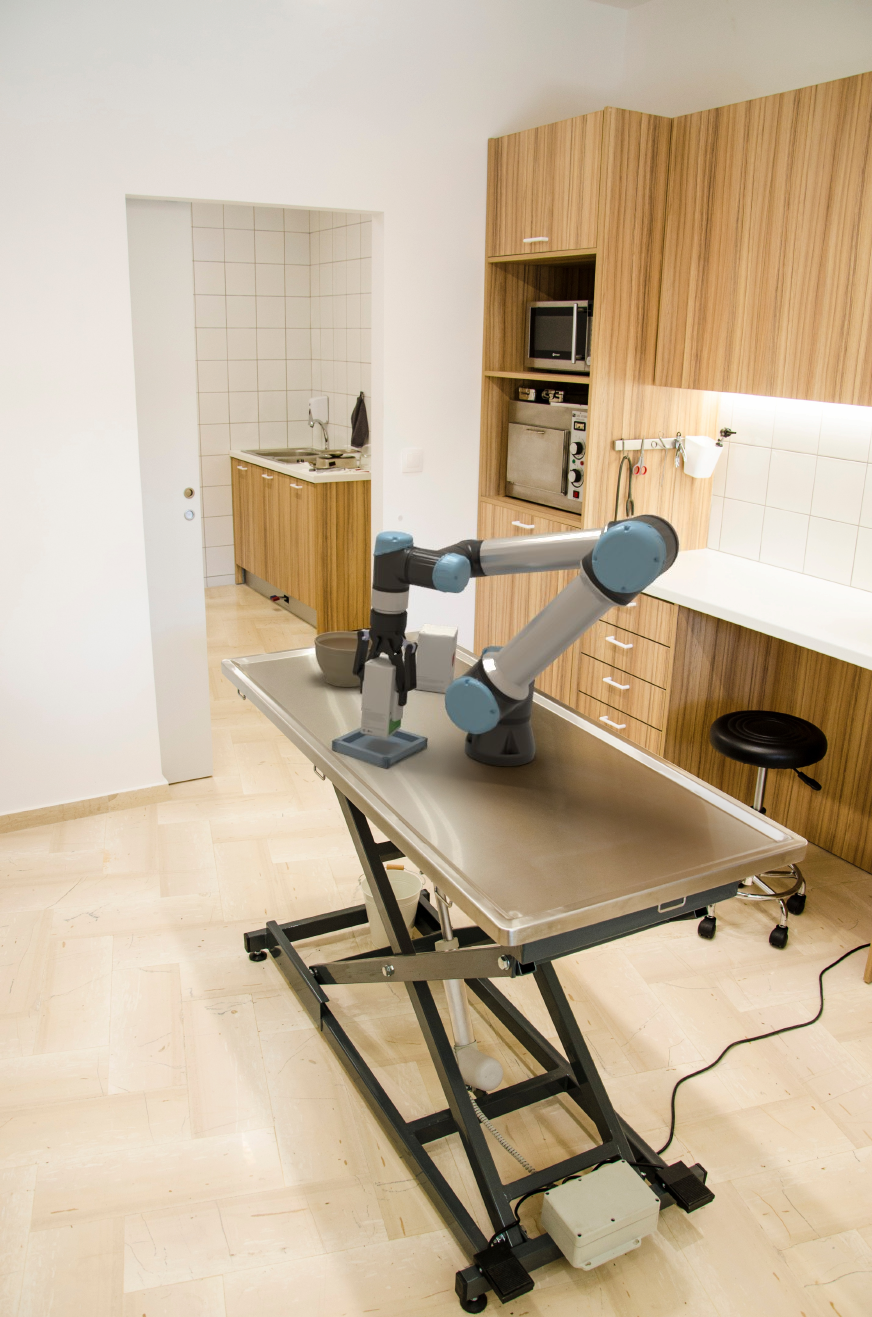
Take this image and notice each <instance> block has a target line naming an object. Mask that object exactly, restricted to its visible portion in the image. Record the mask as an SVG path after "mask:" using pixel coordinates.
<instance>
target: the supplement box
mask: <svg viewBox="0 0 872 1317" xmlns="http://www.w3.org/2000/svg"><path fill="white" fill-rule="evenodd" d="M458 634H459V627H456V626H449V625H440V624H432V623H424V624H423V625H422V627H421V629H420V630H419V632H418V636H417V637H418V638H417V644H418V647H417V651H416V678H417V687H416V688H415V689H414V690H418V691H425V692H426V691H427V692H432V693H433V692H434V693H439V694H440V693H441V694H446V691H447V689H448V687H449V686H450V685H451V683H452V682H453V681H454V678H455V665H456V655H457V643H458Z"/></svg>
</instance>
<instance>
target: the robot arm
mask: <svg viewBox="0 0 872 1317" xmlns="http://www.w3.org/2000/svg"><path fill="white" fill-rule="evenodd" d="M414 544H415V543H414V537H413V535H411V534H410V533H406V532H403V531H393V530H392V531H391V530H390V531H382V532H379V533H378V534H377V535H376V538H375V543H374V552H373V555H372V556H373V570H372V572H373V573H372V584H371V585H372V586H371V593H370V594H371V596H370V606H371V609H370V613H369V614H370V615H369V626H370V629H368V628H364V629H360V630H357V631H356V632H357V638H358V644H357V649H356V655H355V661H354V666H353V675H357V676H358V677H359V678H360V685H359V694H361V707H360V711H361V712H362V703H363V689H364V673H365V663H366V662H367V661H369V660H371V659H375V658H377V657H379V656H380V654H382V653H383V654H384V655H388V657H389V660H391V663H392V665H394V666H396V676H395V680H396V684H397V688H398V690H396V691H394V701H393V715H392V721H397V720H400V719H401V720H402V719H403V716H404V706H405V707H406V705H407V703H408V692H410V691H414V690H416V689H415V688H416V687H417V678H416V660H417V648H418V642H416V641H414V642H412V641H410V640H408V639H407V637H406V629H407V625H408V611H407V609H408V608H409V597H410V586H416V587H421V588H424V589H430V590H433V591H434V590H435V591H438V592H441V593H444V594H446V593H452V594H459V593H462V592H464V590H465V588H467V586H468V584H469V581H470V579H475V578H485V577H491V576H495V577H496V576H507V575H516V574H517V575H518V574H519V575H520V574H529V573H530V574H531V573H542V572H554V571H556V572H557V571H569V570H570V571H571V570H580V572H579V573H578V574H577V575H576V576H575V577H574V578H573V579H572V580H571V581H570V582H569V583H568V584H567V585H566V586H565V587H563V589H561V591H560V592H558V594H557V595H556V596H554V597H553V598H552V599H551V600H550V601H549V602H548V603H547V604H546V605H545V606H544V607H543V608H542V609H541V610H540V611H539V612H538V613H536V615H535V616H534V617H533V618H532V619H530V621H528V622H527V624H525V625H524V627H522V628H521V629H520V630H519V631H518V632H517V633H516V635H514V636H513V637H512V638H511V639H510V640H509V641H508V642H507V643H506V644H505V645H504V646H501V645H490V646H486V647H484V648H483V649H482V651H481V655H480V657H479V660H477V661H476V662H475V663H474V664H473V665H472V666H471V667H470V668H469V669H468V670H467V671H466V672H465V673H463V674H462V675H461V676H460V677H457V678H455V679H453V682H452V683H451V685H450V686H449V687H448V689H447V691H446V693H444V694H445V695H444V705H445V706H444V708H445V711H446V714H447V716H448V717H449V719H450V721H451V722H452V723H453V724H454V725H455V726H456V727H457V728H458V729H459V730H461V731H463V732H465V733H467V734H466V736H465V740H464V747H463V750H464V752H465V754H466V755H467V756H468V757H469V758H471V759H473V760H475V761H477V762H480V763H483V764H486V765H490V766H491V765H492V766H497V767H516V766H523V765H526V764H528V763H531V762H532V761H533V760H534V759H535V755H536V754H535V753H536V742H535V739H534V732H533V729H532V725H531V718H532V717H531V716H532V708H533V700H534V691H535V686H536V685H535V684H536V678H538V677H539V676H540V675H541V674H542V673H543V672H544V671H545V670H547V668H548V667H549V666H551V665H552V663H554V662H555V661H556V660H557V659H558V658H559V657H560V656H561V655H562V654H563V653H564V652H566V651H567V650H568V649H569V648H570V647H571V646H572V645H573V644H575V642H577V641H578V640H579V639H580V638H581V637H582V636H583V635H584V634H585V633H586V632H588V630H589V629H591V628H592V626H594V625H595V624H596V623H597V622H598V621H599V620H600V619H601V618H603V616H605V615H606V614H607V613H608V612H609V611H610V610H611V609H612V608H613V607H618V608H619V607H620V608H621V607H622V608H623V607H627V606H628V605H629V604H630V603H631V602H632V601H634V600H635V598H637V597H638V596H639V595H640V594H641V593H642V592H643V591H644V590H646V589H647V587H649V586H650V585H651V584H653V583H654V582H656V580H657V579H658V578H659V577H660V576H662V575H663V574H664V573H666V572H667V571H668V570H669V569H671V567H672V566H673V565H674V564H675V563H676V561H677V559H678V555H679V552H680V540H679V535H678V533H677V531H676V529H675V528H674V526H673V525H672V524H671V523H670V522H669V521H668V520H667V519H665V518H663V517H661V516H659V515H655V514H640V515H637V516H633V517H630V518H625V519H618V520H612V521H611V520H610V521H608V522H607V523H606V524H605V525H604V526H603V527H595V528H584V529H575V530H574V529H573V530H565V531H555V532H547V533H546V532H545V533H535V534H525V535H524V534H523V535H518V536H517V535H516V536H507V537H497V538H489V539H488V538H487V539H474V538H472V539H471V538H470V539H465V540H464V539H462V540H459V541H458V542H457V543H454V544H452V545H448V546H446V547H442V548H440V549H438V550H437V549H436V550H435V549H428V548H424V547H418V546H416V545H415V546H414ZM369 639H371V641H372V646H371V648H370V650H369V652H370V653H369V655H368V658H367V660H366V657H367V652H368V646H369ZM402 647H403V649H402ZM403 658H404V663H403Z"/></svg>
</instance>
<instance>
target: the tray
mask: <svg viewBox="0 0 872 1317" xmlns="http://www.w3.org/2000/svg"><path fill="white" fill-rule="evenodd" d="M360 731H361V727H359V728H356V729H354V730H352V731H350V732H347V733H346V734H343V735H341V736H339V737H337V738H335V739H333V740H331V741H332V742H331V750H332V751H334V750H336V751H335V752H337V751H338V753H340V754H342V755H343V754H344V756H348V757H351V758H354V759H357V760H358V761H363V762H365V763H369V764H371V765H374V766H375V767H376V766H377V767H380V768H382V769H385V770H387V769H389V768H391V767H394V766H395V765H396V764H398V763H400V762H402V761H404V760H406V759H408V758H409V757H411V756H412V757H413V755H416V754H417V753H418V752H421V751H423V750H424V749H426V748H428V743H429V742H428V741H429V740H428V737H425V736H422V735H419V734H416V733H414V732H413V733H412V732H410V731H407V730H404V729H401V728H399V729H398V730H397V731H396V732H395V733H394V734H393V735H391V736H390V737H389V738H388V739H384V738H379V737H374V736H370V735H365V734H362V733H360Z"/></svg>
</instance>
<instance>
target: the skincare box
mask: <svg viewBox="0 0 872 1317" xmlns="http://www.w3.org/2000/svg"><path fill="white" fill-rule="evenodd" d="M402 658H403V663H404V657H402ZM395 676H396V666H394V665H392V663H391V660H389V657H388V655H387V654H384V653H383V654H382V653H381V654H380V656H379V657H377V658H375V659H371V660H369V661H367V662H366V663H365V673H364V689H363V703H362V702H361V704H362V711H361V719H360V720H361V721H360V728H361V731H360V733H362V734H365V735H370V736H374V737H379V738H384V739H388V738H389V737H390V736H391V735H393V734H394V733H395V732H396V731H397V730H398V729H401V727H402V719H400V720H397V721H392V715H393V701H394V691H396V690H398V688H397V684H396V680H395Z"/></svg>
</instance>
